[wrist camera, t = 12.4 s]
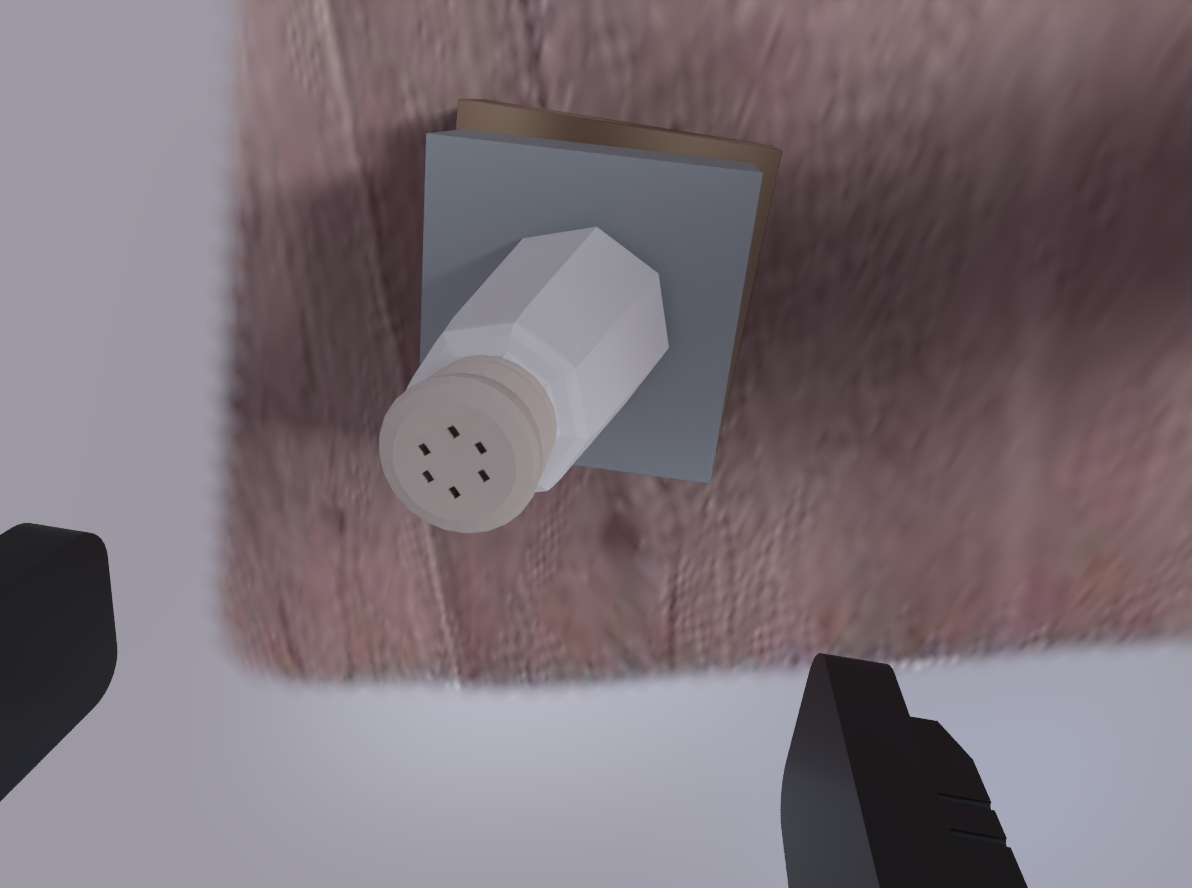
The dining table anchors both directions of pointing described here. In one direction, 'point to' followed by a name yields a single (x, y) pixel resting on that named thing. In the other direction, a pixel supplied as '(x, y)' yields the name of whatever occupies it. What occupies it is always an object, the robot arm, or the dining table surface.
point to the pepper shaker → (523, 379)
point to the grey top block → (637, 222)
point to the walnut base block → (642, 138)
